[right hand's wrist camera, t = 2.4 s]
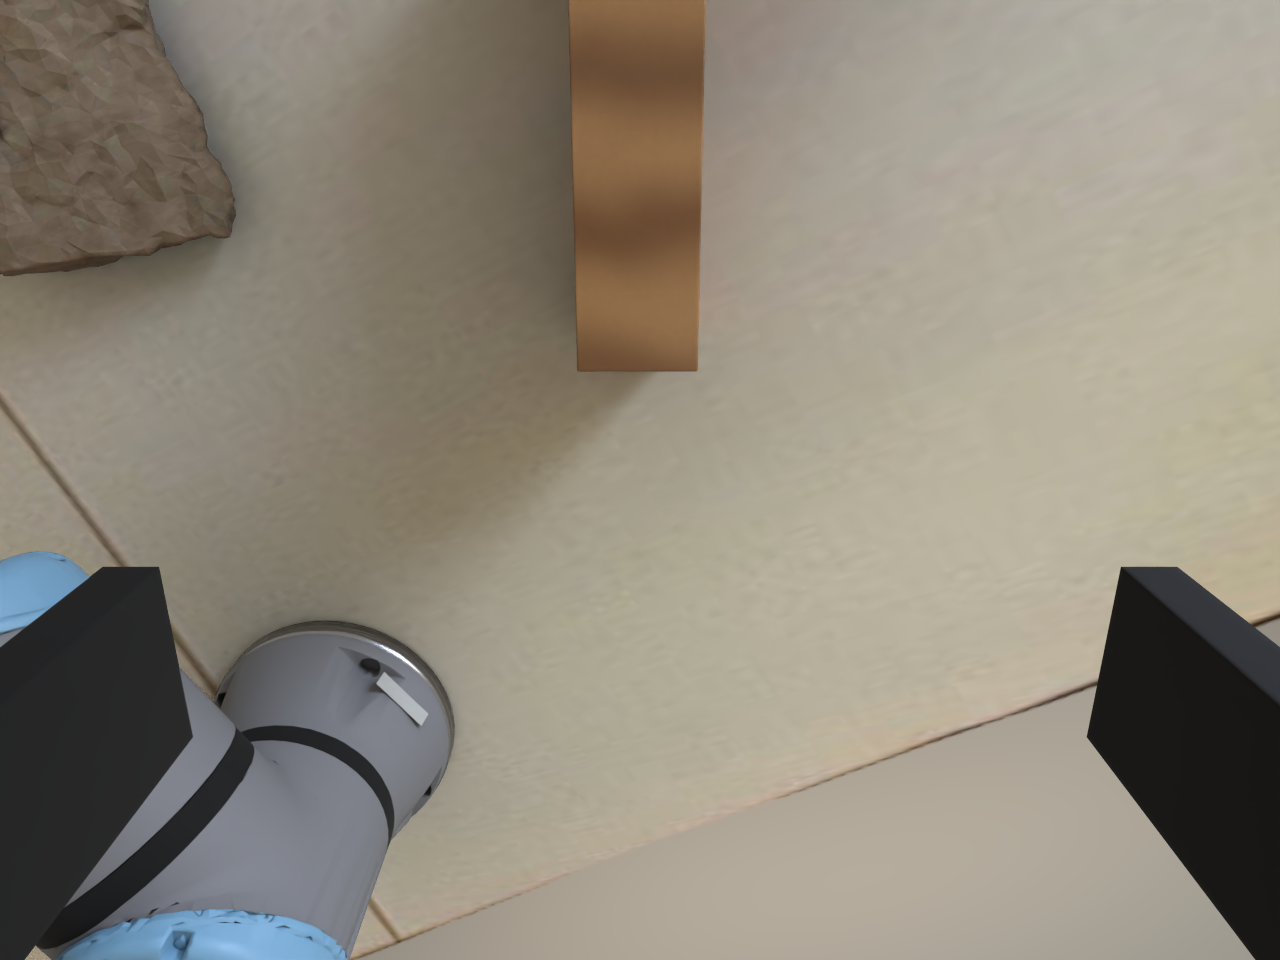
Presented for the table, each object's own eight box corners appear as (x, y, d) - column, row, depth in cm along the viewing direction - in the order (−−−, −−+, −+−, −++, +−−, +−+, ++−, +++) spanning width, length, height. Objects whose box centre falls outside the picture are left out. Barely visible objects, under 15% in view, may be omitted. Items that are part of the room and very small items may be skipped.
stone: (-265, -168, 40) (-359, -197, 35) (79, -234, 42) (39, -270, 37) (-5, 286, 50) (-48, 316, 45) (263, 216, 52) (251, 237, 47)
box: (688, 337, 51) (697, 371, 44) (586, 337, 51) (577, 371, 44) (697, -182, 43) (711, -256, 35) (576, -181, 43) (561, -256, 35)
